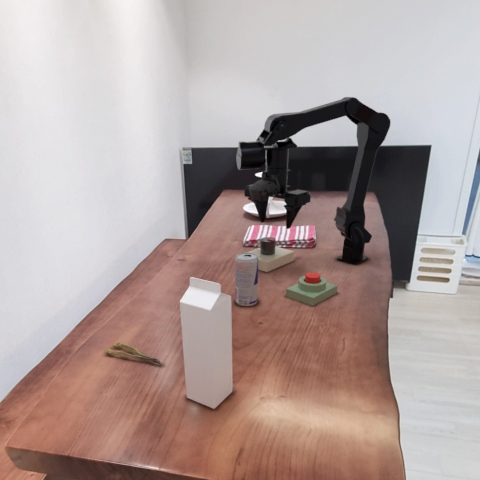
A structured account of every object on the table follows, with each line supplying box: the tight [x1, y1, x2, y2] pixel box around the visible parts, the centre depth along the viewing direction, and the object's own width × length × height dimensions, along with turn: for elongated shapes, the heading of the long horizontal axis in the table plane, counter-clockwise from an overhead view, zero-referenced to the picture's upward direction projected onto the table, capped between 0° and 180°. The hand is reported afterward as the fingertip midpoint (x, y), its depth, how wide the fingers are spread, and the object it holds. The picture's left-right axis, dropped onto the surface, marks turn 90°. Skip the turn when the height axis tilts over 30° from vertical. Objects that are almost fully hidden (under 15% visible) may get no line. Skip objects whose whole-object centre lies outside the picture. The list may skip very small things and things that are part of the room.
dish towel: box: [242, 224, 317, 249], centre depth 155 cm, size 17×23×4 cm
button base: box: [285, 275, 338, 307], centre depth 116 cm, size 10×8×4 cm
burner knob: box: [259, 237, 276, 255], centre depth 136 cm, size 4×4×4 cm
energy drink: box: [234, 252, 259, 307], centre depth 112 cm, size 5×5×12 cm
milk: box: [179, 276, 234, 410], centre depth 77 cm, size 6×6×22 cm
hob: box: [245, 247, 295, 273], centre depth 137 cm, size 12×10×3 cm
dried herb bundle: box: [105, 342, 162, 366], centre depth 95 cm, size 4×13×2 cm, turn 63°
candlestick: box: [242, 171, 287, 219], centre depth 175 cm, size 21×25×28 cm
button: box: [304, 271, 321, 284], centre depth 115 cm, size 4×4×2 cm
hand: (275, 225), depth 129 cm, fingers open, 9 cm apart
